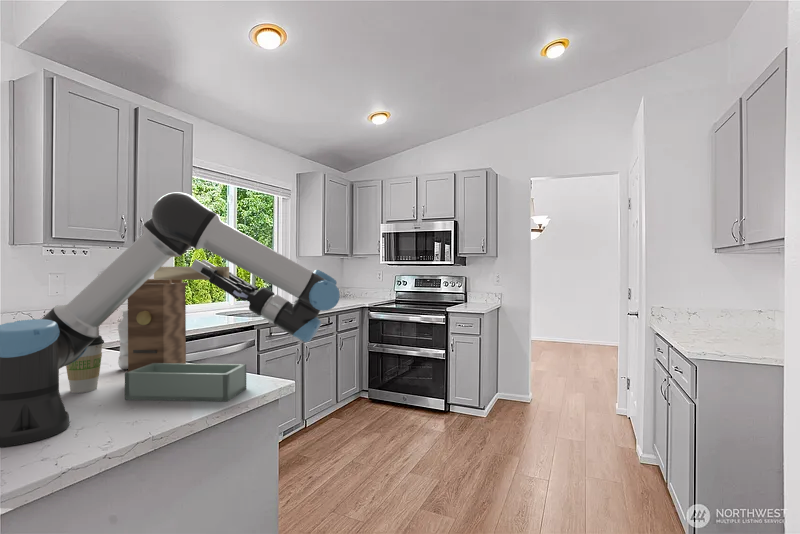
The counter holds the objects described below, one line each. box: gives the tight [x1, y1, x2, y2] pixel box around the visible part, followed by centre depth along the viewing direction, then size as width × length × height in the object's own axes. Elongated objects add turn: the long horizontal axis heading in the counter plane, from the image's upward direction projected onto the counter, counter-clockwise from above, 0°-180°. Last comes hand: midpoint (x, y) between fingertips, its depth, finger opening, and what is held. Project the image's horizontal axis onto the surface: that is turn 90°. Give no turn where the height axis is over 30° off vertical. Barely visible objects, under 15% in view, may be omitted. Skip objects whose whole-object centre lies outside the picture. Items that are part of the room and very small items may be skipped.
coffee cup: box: [65, 334, 105, 394], centre depth 127 cm, size 10×10×15 cm
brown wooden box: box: [127, 278, 189, 372], centre depth 138 cm, size 14×12×31 cm
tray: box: [124, 362, 247, 402], centre depth 123 cm, size 12×28×7 cm, turn 86°
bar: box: [153, 266, 230, 281], centre depth 126 cm, size 4×20×4 cm, turn 87°
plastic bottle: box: [117, 309, 128, 370], centre depth 152 cm, size 6×7×20 cm
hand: (197, 263), depth 126 cm, fingers closed on bar, 4 cm apart
